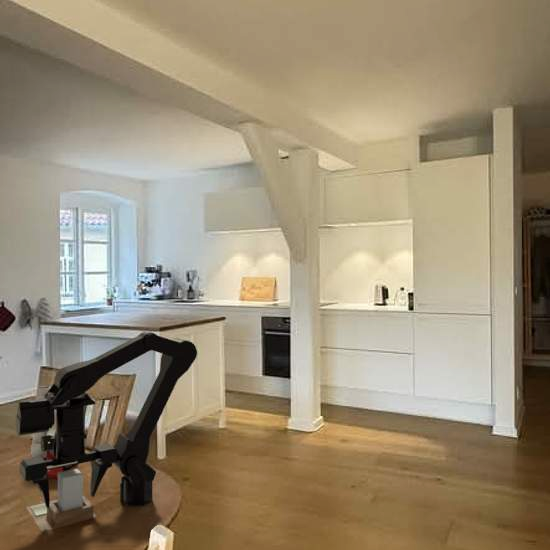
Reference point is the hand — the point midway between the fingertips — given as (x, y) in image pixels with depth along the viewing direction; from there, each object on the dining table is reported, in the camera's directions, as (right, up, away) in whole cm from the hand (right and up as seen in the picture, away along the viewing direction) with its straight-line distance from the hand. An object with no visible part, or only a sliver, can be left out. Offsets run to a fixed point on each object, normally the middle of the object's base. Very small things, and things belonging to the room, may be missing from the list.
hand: (70, 501), depth 112 cm
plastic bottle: (-23, -4, +39) cm, 45 cm away
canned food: (-12, -4, +27) cm, 30 cm away
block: (0, -3, 0) cm, 3 cm away
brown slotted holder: (-3, -4, +2) cm, 5 cm away
